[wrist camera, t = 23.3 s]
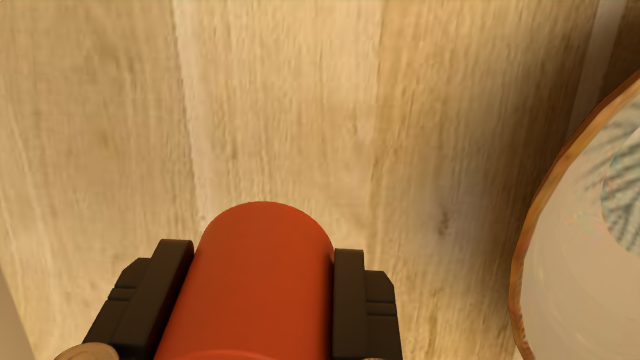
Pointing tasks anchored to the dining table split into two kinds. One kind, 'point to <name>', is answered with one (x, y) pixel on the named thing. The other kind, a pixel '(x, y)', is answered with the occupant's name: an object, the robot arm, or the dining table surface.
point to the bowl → (584, 243)
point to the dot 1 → (255, 289)
